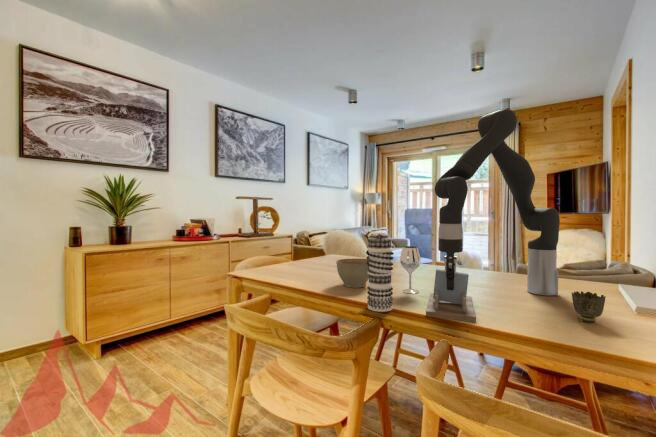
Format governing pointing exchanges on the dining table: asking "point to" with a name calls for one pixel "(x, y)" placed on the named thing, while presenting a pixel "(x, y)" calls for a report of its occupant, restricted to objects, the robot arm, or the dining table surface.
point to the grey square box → (450, 295)
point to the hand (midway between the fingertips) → (450, 288)
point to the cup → (588, 305)
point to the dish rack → (451, 308)
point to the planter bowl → (353, 272)
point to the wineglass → (410, 264)
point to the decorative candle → (379, 272)
